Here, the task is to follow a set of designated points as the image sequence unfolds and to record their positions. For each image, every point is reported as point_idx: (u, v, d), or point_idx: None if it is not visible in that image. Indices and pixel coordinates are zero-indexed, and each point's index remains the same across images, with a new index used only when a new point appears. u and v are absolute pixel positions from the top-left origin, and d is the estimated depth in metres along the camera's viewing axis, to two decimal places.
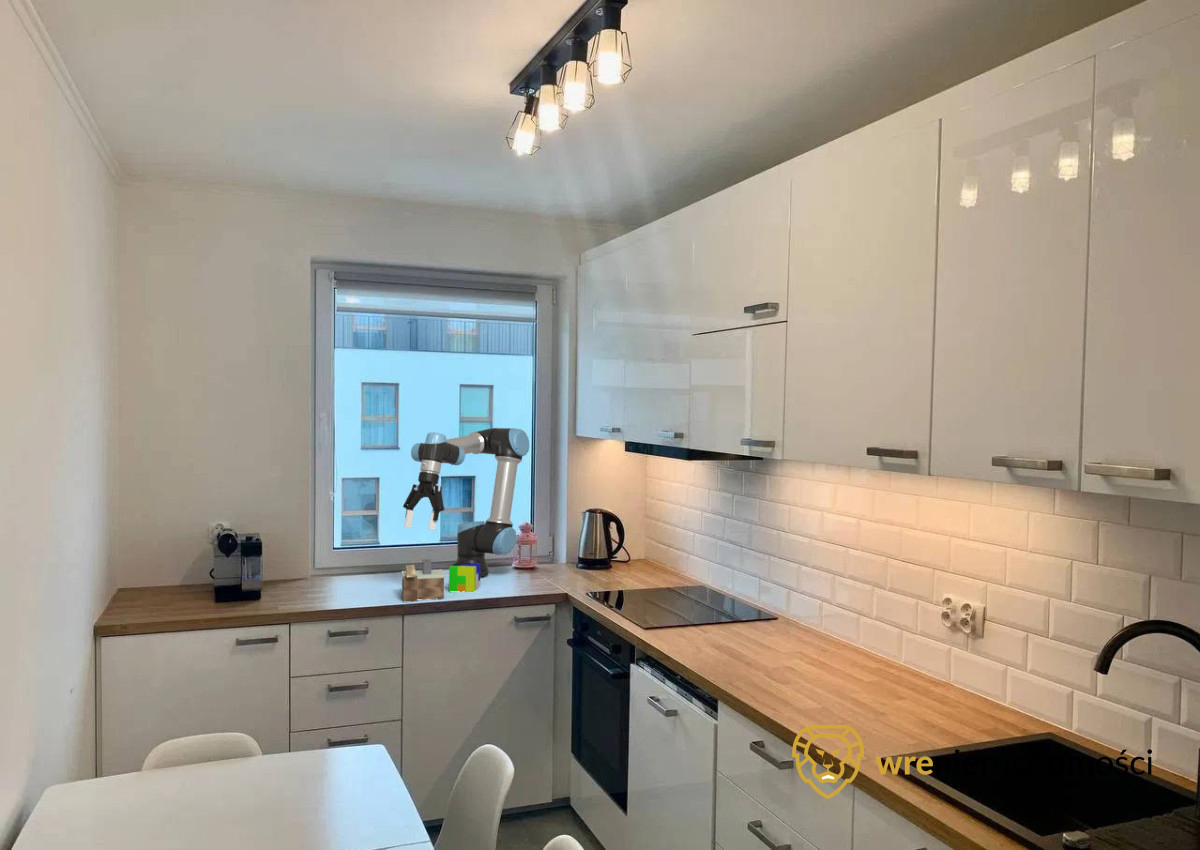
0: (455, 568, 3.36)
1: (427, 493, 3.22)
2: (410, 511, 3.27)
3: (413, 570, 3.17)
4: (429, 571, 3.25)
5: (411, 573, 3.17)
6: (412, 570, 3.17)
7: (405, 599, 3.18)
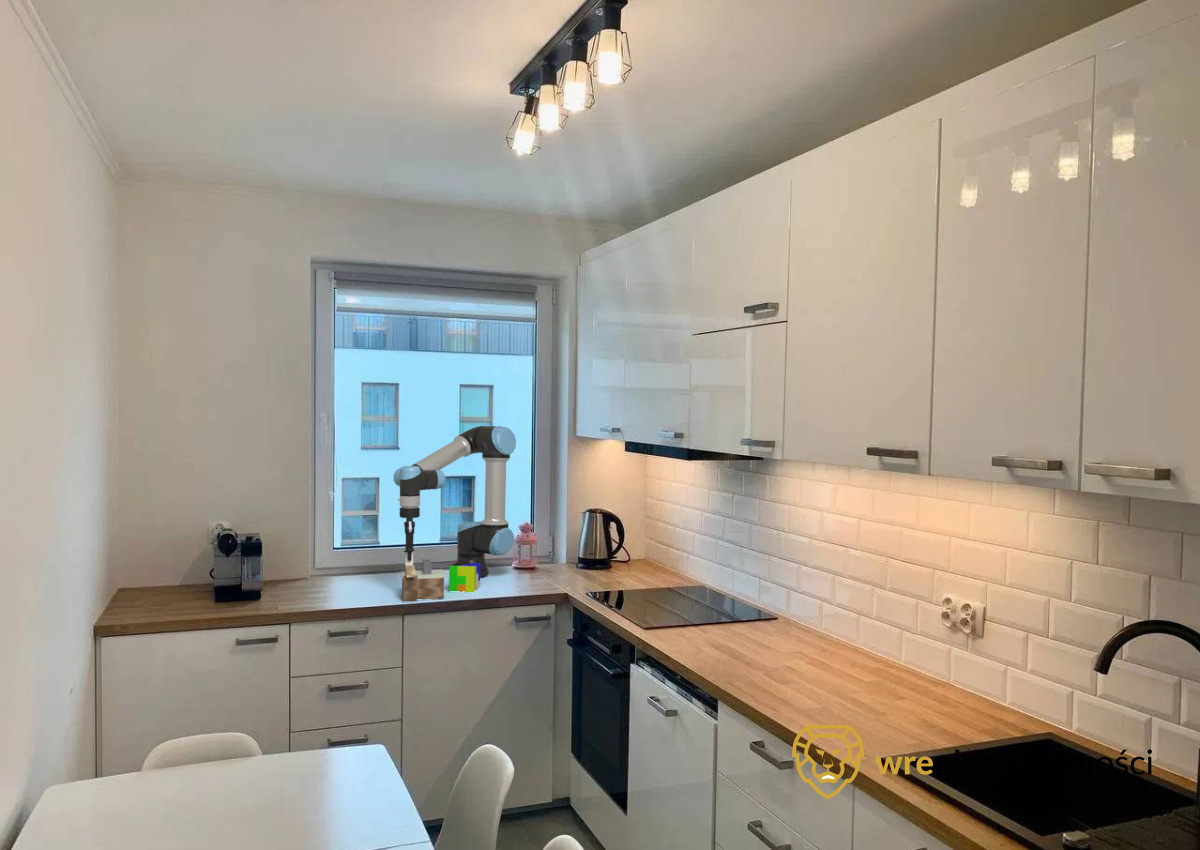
0: (455, 568, 3.36)
1: (405, 530, 3.23)
2: None
3: (413, 570, 3.17)
4: (429, 571, 3.25)
5: (411, 573, 3.17)
6: (412, 570, 3.17)
7: (405, 599, 3.18)
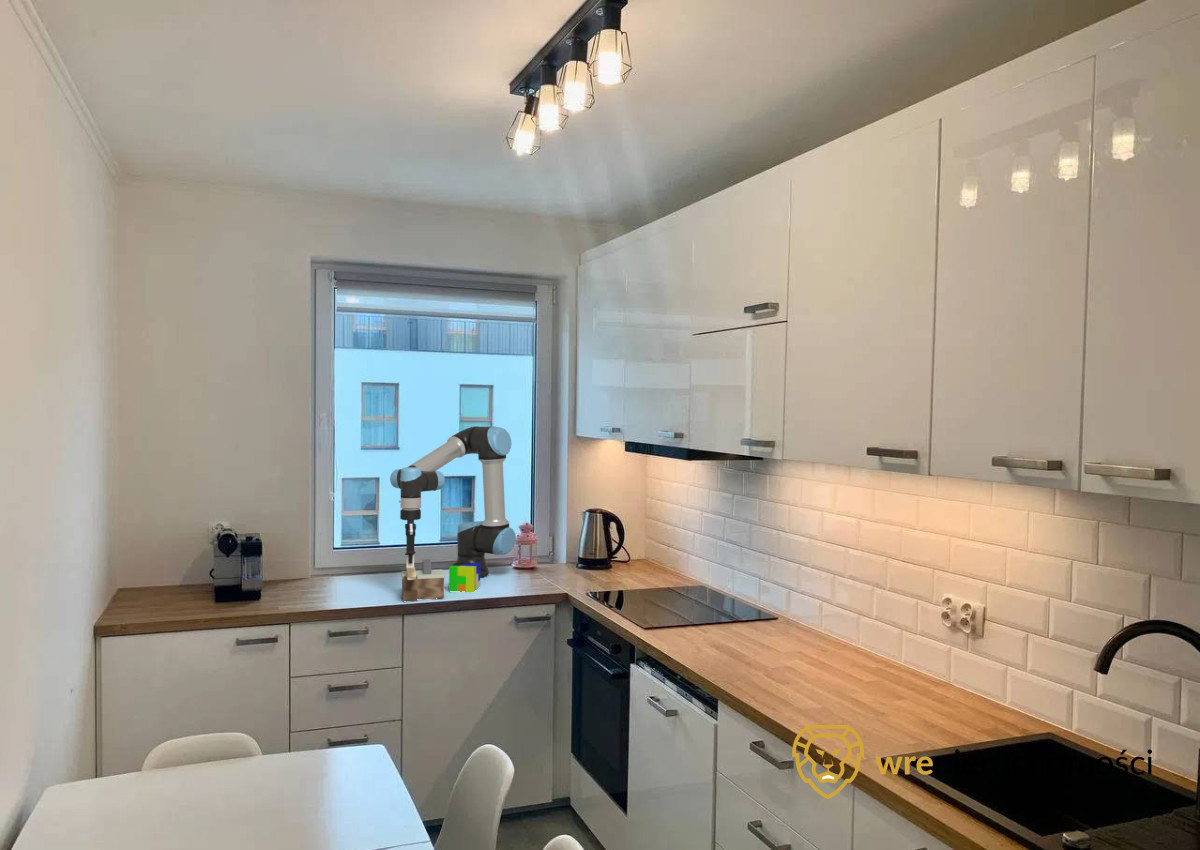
0: (455, 568, 3.36)
1: (406, 532, 3.19)
2: None
3: (414, 573, 3.12)
4: (429, 571, 3.25)
5: (412, 576, 3.12)
6: (413, 573, 3.12)
7: (405, 599, 3.18)
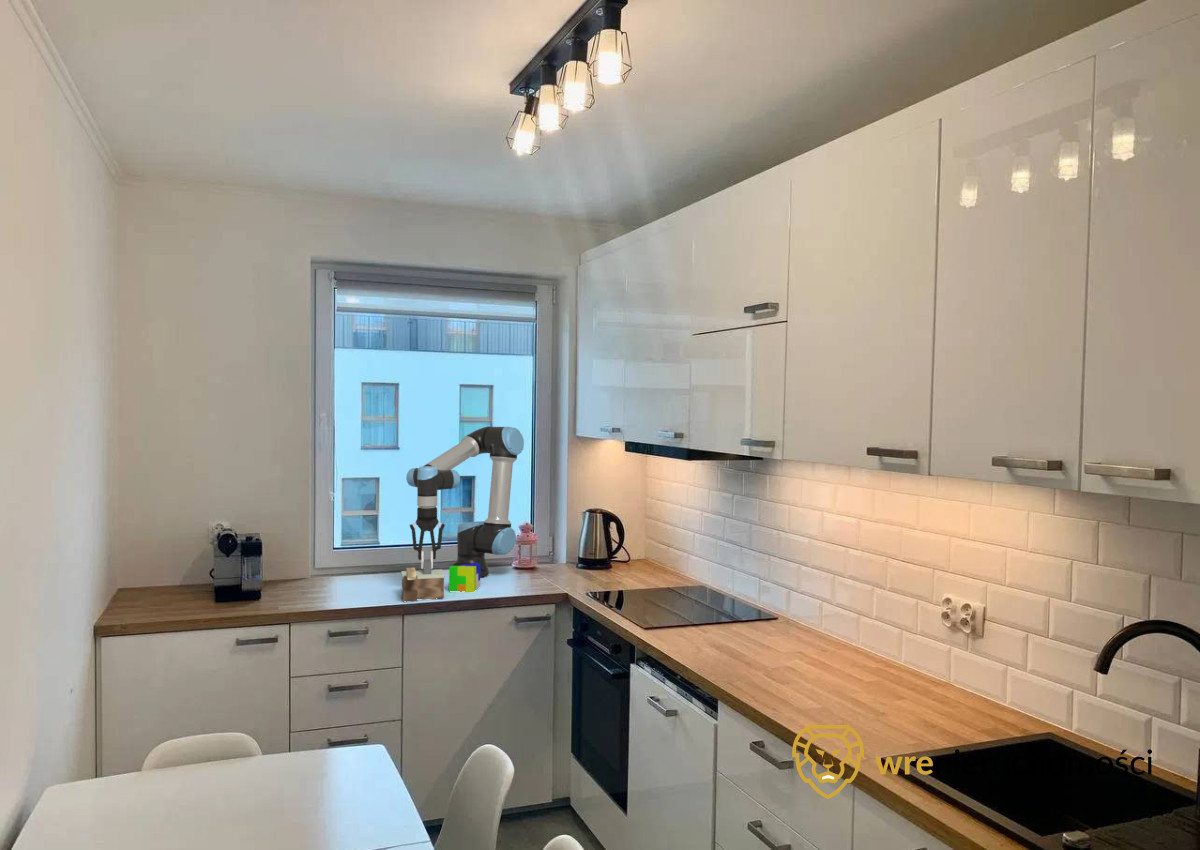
0: (455, 568, 3.36)
1: None
2: (430, 552, 3.29)
3: (414, 573, 3.12)
4: (429, 571, 3.25)
5: (412, 576, 3.12)
6: (413, 573, 3.12)
7: (405, 599, 3.18)
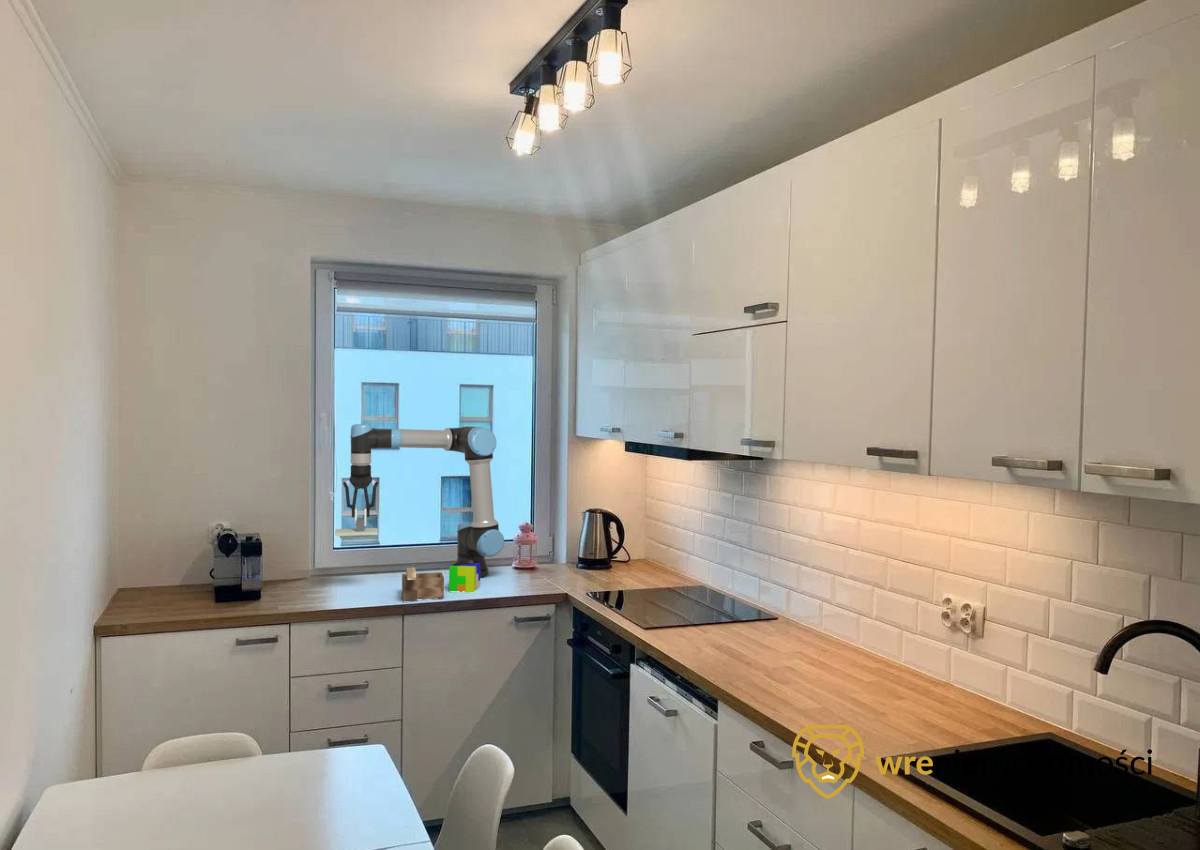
0: (455, 568, 3.36)
1: None
2: (364, 509, 3.29)
3: (414, 573, 3.12)
4: (362, 528, 3.25)
5: (412, 576, 3.12)
6: (413, 573, 3.12)
7: (405, 599, 3.18)
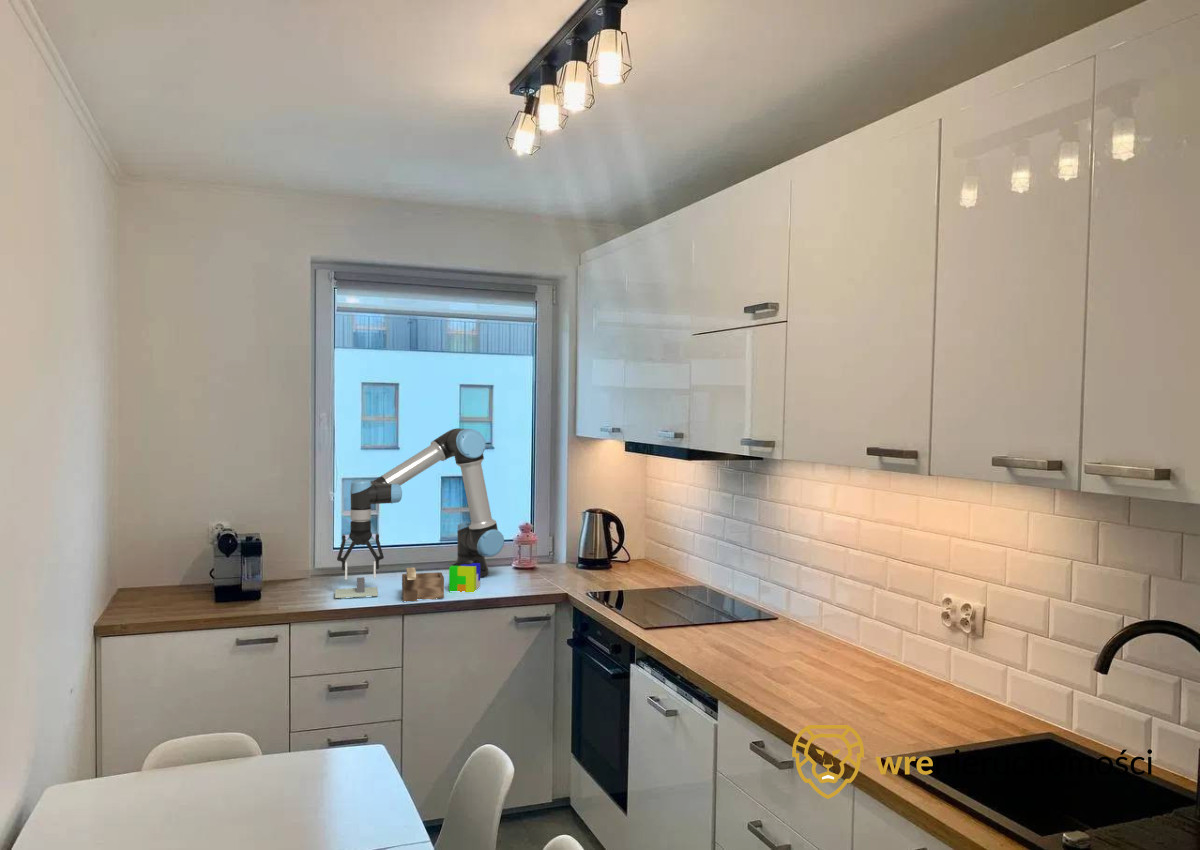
0: (455, 568, 3.36)
1: None
2: None
3: (414, 573, 3.12)
4: (362, 589, 3.26)
5: (412, 576, 3.12)
6: (413, 573, 3.12)
7: (405, 599, 3.18)
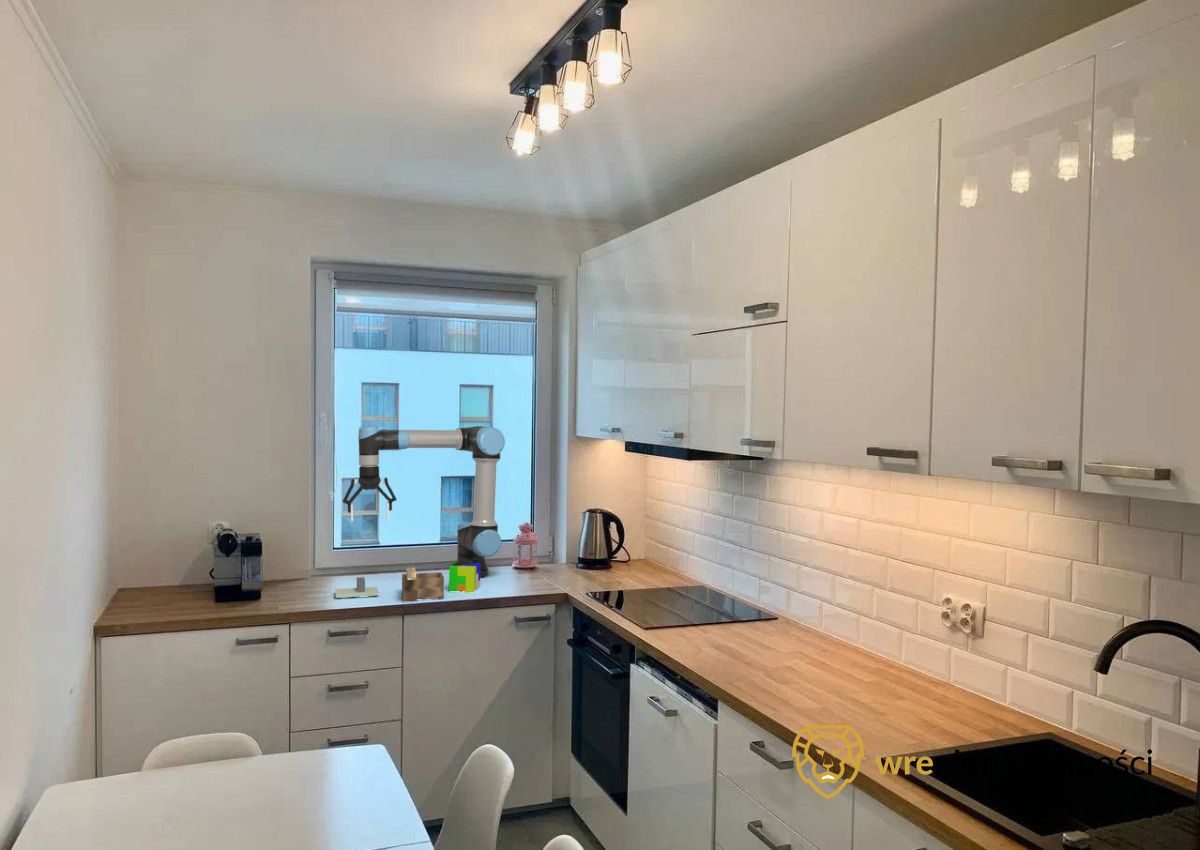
0: (455, 568, 3.36)
1: None
2: None
3: (414, 573, 3.12)
4: (363, 589, 3.26)
5: (412, 576, 3.12)
6: (413, 573, 3.12)
7: (405, 599, 3.18)
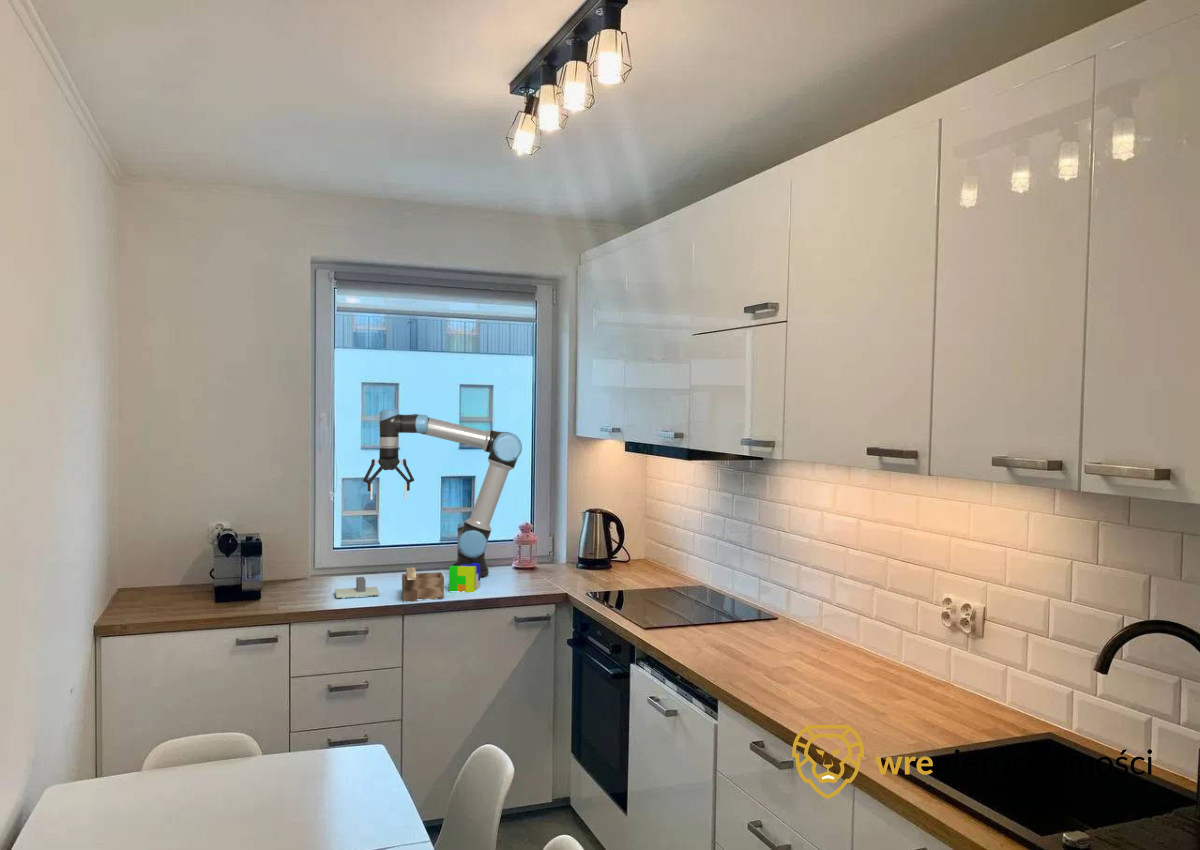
0: (455, 568, 3.36)
1: None
2: None
3: (414, 573, 3.12)
4: (363, 589, 3.27)
5: (412, 576, 3.12)
6: (413, 573, 3.12)
7: (405, 599, 3.18)
